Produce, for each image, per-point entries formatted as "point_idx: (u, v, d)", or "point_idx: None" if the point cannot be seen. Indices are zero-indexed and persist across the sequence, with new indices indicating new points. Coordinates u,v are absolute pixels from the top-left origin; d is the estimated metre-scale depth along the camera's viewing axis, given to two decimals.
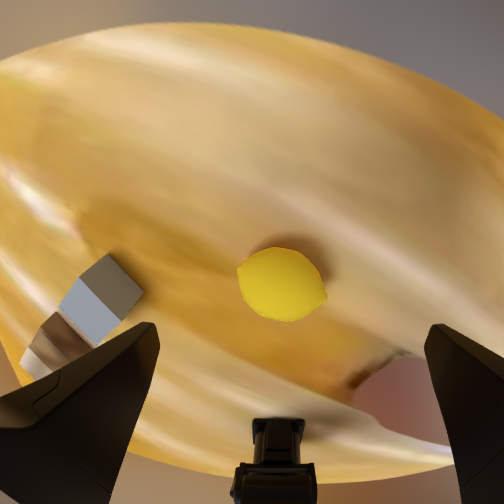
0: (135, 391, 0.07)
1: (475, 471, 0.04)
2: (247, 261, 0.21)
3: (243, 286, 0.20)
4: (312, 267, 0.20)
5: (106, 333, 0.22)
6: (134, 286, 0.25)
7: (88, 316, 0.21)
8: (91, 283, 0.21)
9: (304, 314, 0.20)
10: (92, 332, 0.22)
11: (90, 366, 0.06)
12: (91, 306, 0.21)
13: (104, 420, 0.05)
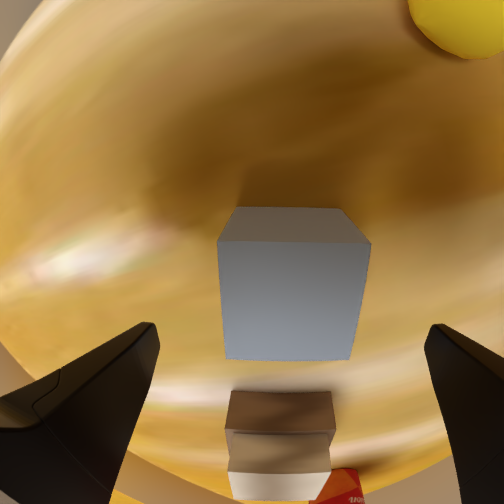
0: (135, 391, 0.07)
1: (475, 471, 0.04)
2: None
3: (449, 16, 0.06)
4: None
5: (356, 310, 0.10)
6: (321, 210, 0.13)
7: (297, 312, 0.10)
8: (252, 235, 0.10)
9: None
10: (326, 341, 0.10)
11: (90, 366, 0.06)
12: (291, 281, 0.10)
13: (104, 420, 0.05)
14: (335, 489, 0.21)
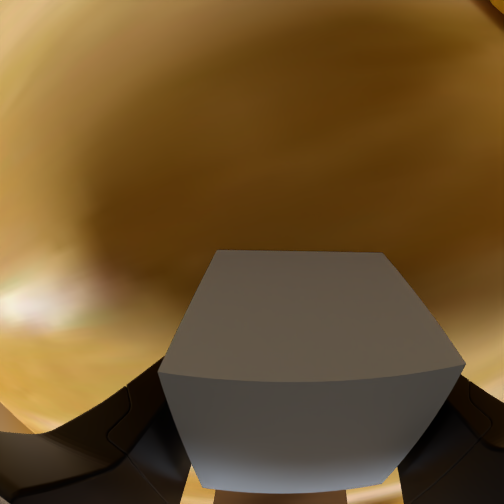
0: None
1: (418, 492, 0.04)
2: None
3: None
4: None
5: (409, 445, 0.04)
6: (356, 260, 0.08)
7: (314, 459, 0.05)
8: (233, 354, 0.04)
9: None
10: (354, 476, 0.05)
11: None
12: (310, 431, 0.04)
13: (178, 438, 0.05)
14: None
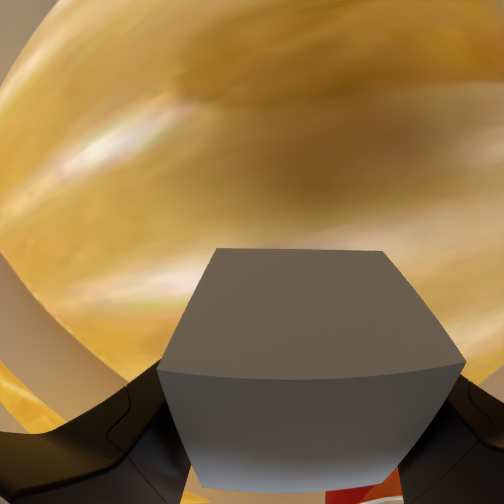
0: None
1: (418, 493, 0.04)
2: None
3: None
4: None
5: (410, 444, 0.04)
6: (356, 258, 0.08)
7: (314, 458, 0.05)
8: (233, 352, 0.04)
9: None
10: (355, 475, 0.05)
11: None
12: (309, 430, 0.04)
13: (178, 438, 0.05)
14: None
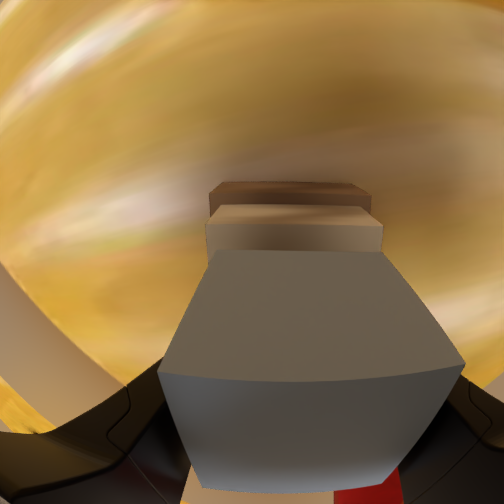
0: None
1: (418, 493, 0.04)
2: None
3: None
4: None
5: (409, 445, 0.04)
6: (356, 259, 0.08)
7: (314, 459, 0.05)
8: (233, 354, 0.04)
9: None
10: (354, 476, 0.05)
11: None
12: (309, 431, 0.04)
13: (177, 438, 0.05)
14: None
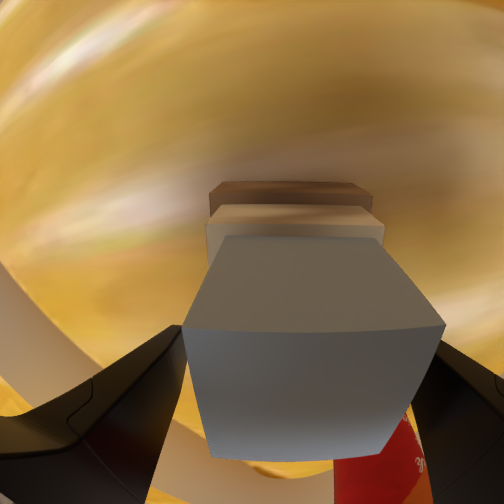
0: (168, 397, 0.07)
1: (447, 483, 0.04)
2: None
3: None
4: None
5: (402, 408, 0.05)
6: (351, 243, 0.09)
7: (316, 419, 0.06)
8: (246, 313, 0.05)
9: None
10: (354, 442, 0.06)
11: (125, 374, 0.05)
12: (311, 386, 0.05)
13: (140, 430, 0.05)
14: None
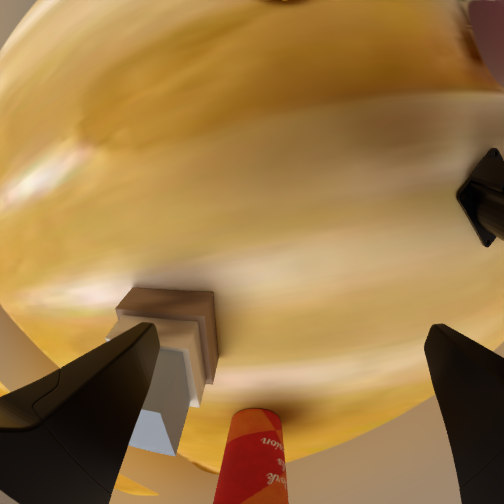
0: (135, 391, 0.07)
1: (475, 471, 0.04)
2: None
3: None
4: None
5: (166, 437, 0.13)
6: (164, 356, 0.16)
7: None
8: None
9: None
10: (155, 445, 0.14)
11: (90, 366, 0.06)
12: None
13: (104, 420, 0.05)
14: (248, 427, 0.25)
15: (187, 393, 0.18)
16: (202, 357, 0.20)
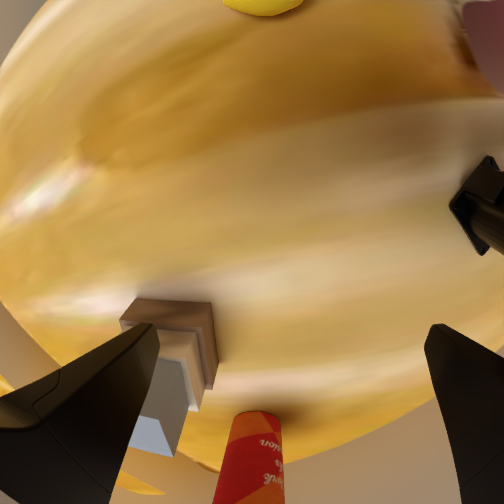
0: (135, 391, 0.07)
1: (475, 471, 0.04)
2: None
3: None
4: None
5: (164, 440, 0.14)
6: (164, 366, 0.17)
7: (133, 433, 0.14)
8: None
9: None
10: (155, 447, 0.15)
11: (90, 366, 0.06)
12: None
13: (104, 420, 0.05)
14: (248, 429, 0.26)
15: (185, 399, 0.19)
16: (201, 365, 0.22)
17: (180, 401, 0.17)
